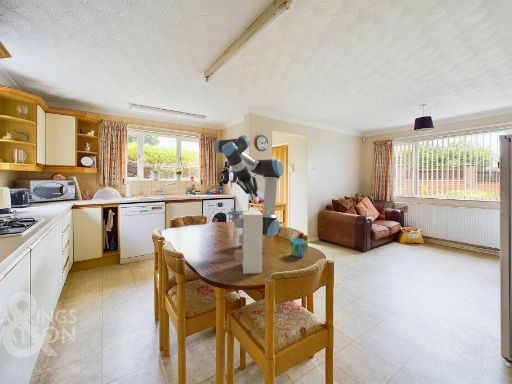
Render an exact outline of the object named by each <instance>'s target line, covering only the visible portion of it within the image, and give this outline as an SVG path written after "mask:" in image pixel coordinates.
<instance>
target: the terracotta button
mask: <svg viewBox="0 0 512 384" xmlns="http://www.w3.org/2000/svg"><path fill="white" fill-rule="evenodd" d="M233 257H234V258H233V259H235V260H236V261H242V260H243V250H242V249H235V250H234V253H233Z"/></svg>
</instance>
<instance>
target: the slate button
mask: <svg viewBox="0 0 512 384" xmlns="http://www.w3.org/2000/svg"><path fill="white" fill-rule="evenodd" d="M233 222H234V223H233V224H234V228H235V229H242V228H243V219H242V218H235V219H234V221H233Z"/></svg>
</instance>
